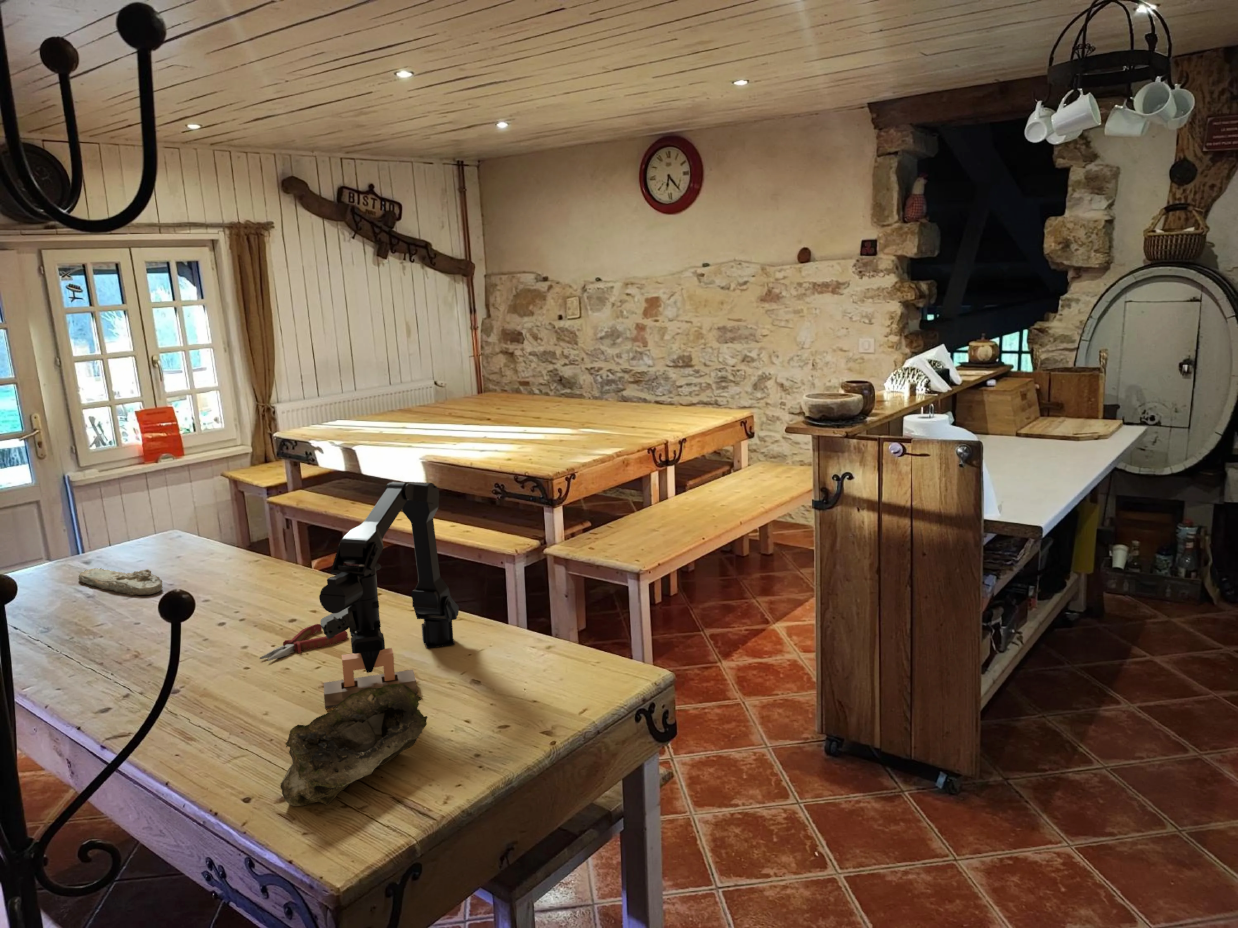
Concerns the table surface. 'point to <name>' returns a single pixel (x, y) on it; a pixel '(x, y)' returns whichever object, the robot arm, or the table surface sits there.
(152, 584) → the elongated rock
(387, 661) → the clip
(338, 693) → the rail
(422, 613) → the robot arm
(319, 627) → the pliers
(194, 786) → the table surface
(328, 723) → the hollow geode rock
